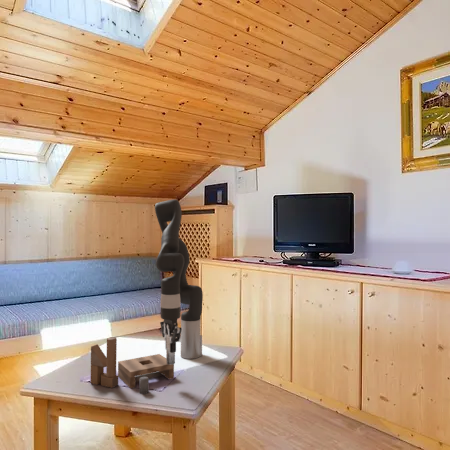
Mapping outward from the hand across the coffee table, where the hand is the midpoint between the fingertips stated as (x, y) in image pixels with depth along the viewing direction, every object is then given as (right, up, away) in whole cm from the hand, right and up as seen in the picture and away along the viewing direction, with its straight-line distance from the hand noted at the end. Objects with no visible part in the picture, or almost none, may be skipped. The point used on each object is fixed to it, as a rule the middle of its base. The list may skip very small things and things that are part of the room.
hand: (170, 350), depth 147 cm
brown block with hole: (-11, -13, +8) cm, 19 cm away
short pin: (-9, -13, -6) cm, 17 cm away
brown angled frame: (-26, -13, +1) cm, 29 cm away
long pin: (0, -5, 0) cm, 5 cm away
